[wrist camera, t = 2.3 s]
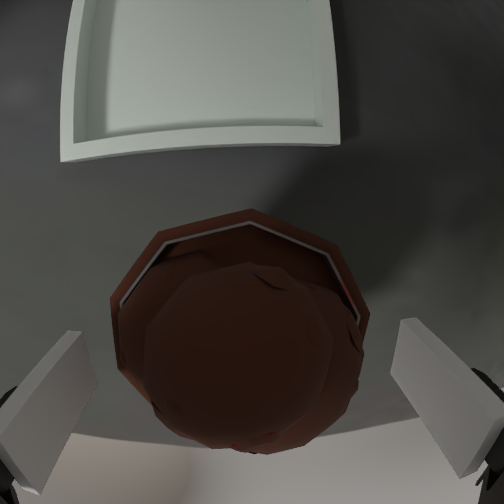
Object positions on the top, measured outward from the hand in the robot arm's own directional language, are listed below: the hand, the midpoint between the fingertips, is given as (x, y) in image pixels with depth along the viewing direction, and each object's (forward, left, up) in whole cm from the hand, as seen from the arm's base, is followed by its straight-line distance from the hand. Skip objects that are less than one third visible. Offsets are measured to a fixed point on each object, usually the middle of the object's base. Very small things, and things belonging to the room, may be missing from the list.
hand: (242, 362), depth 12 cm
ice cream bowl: (0, 0, -10) cm, 10 cm away
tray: (-2, +17, -10) cm, 20 cm away
